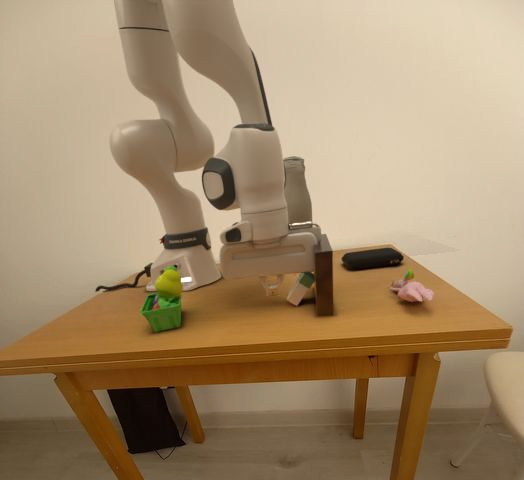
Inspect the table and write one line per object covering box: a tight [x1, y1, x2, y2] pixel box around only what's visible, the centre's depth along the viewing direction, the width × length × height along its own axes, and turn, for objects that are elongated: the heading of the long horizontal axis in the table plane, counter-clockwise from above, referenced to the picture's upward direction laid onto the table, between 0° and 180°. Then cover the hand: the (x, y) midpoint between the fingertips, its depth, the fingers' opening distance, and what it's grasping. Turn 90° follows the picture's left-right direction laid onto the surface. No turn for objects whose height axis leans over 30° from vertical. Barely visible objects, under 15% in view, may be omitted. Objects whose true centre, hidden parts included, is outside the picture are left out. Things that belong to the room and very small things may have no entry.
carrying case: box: [340, 247, 405, 271], centre depth 79 cm, size 11×3×15 cm
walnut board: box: [313, 233, 334, 317], centre depth 60 cm, size 3×16×12 cm, turn 174°
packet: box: [286, 272, 315, 307], centre depth 62 cm, size 6×5×7 cm
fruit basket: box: [140, 266, 183, 333], centre depth 61 cm, size 11×9×11 cm
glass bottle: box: [283, 155, 313, 232], centre depth 87 cm, size 10×10×28 cm
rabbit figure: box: [389, 268, 435, 303], centre depth 56 cm, size 6×6×15 cm
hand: (273, 295), depth 63 cm, fingers closed
